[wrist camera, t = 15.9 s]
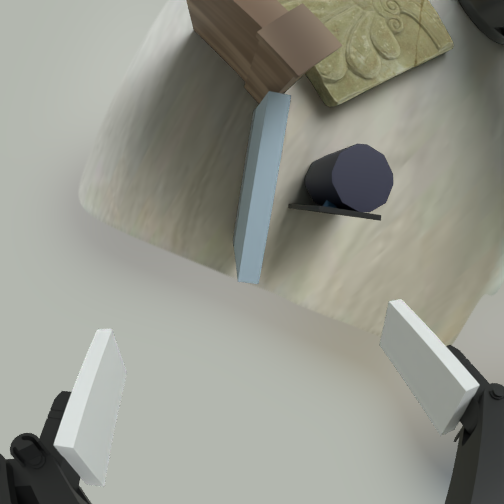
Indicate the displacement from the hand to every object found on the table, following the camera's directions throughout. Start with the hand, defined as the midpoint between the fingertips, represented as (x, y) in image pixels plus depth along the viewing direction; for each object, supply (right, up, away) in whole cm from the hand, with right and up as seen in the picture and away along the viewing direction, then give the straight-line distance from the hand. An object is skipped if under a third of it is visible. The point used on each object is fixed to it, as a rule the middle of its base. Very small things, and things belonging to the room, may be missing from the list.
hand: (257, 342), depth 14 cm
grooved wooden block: (-2, +23, +14) cm, 27 cm away
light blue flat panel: (0, +12, +17) cm, 21 cm away
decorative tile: (+11, +32, +13) cm, 36 cm away
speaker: (+7, +12, +19) cm, 23 cm away
